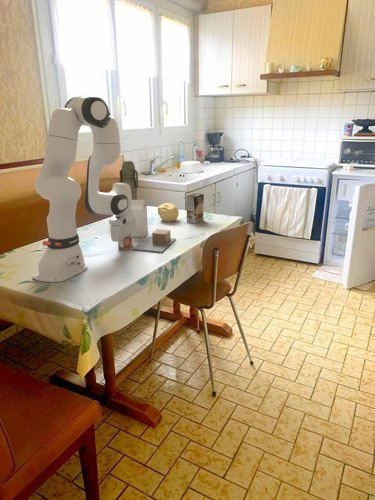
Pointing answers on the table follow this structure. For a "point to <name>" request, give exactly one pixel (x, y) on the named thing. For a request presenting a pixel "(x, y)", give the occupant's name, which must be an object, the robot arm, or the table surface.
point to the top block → (126, 243)
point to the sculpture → (168, 212)
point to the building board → (152, 246)
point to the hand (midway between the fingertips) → (125, 244)
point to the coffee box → (195, 208)
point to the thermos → (129, 177)
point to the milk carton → (140, 218)
